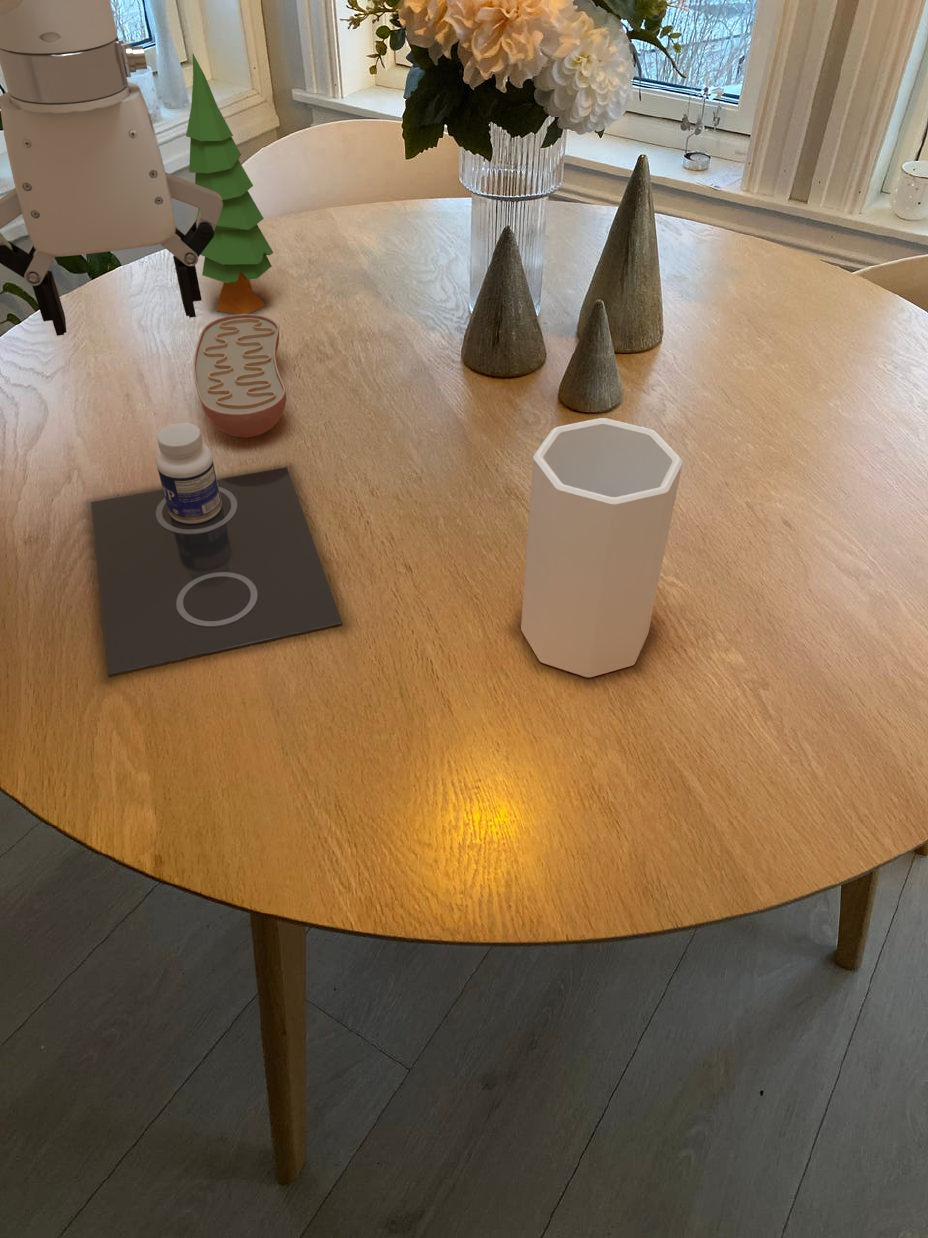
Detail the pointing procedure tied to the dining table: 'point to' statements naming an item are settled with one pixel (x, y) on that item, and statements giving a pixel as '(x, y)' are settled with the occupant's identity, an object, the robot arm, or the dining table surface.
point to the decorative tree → (226, 204)
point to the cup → (596, 543)
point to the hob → (207, 574)
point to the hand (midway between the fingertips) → (126, 318)
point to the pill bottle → (187, 474)
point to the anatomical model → (240, 374)
